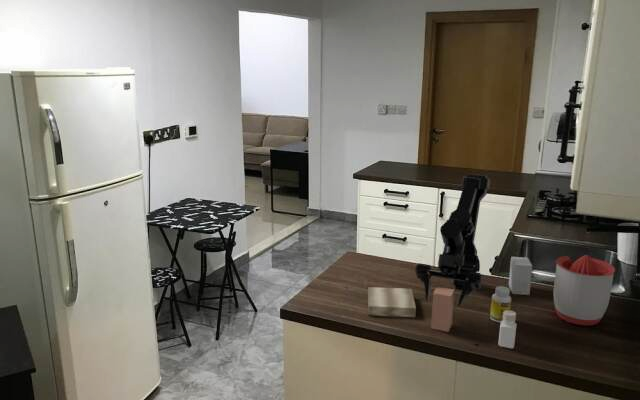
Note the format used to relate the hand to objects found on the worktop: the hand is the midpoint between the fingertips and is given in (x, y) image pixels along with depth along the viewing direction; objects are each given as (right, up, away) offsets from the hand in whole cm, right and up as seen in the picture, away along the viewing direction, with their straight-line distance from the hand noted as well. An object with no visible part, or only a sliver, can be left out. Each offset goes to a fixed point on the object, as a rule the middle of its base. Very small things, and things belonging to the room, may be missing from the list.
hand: (442, 302), depth 148 cm
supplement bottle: (+18, -6, +7) cm, 21 cm away
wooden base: (-13, -4, +15) cm, 20 cm away
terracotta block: (0, -7, +2) cm, 8 cm away
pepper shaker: (+15, -10, -8) cm, 20 cm away
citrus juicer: (+43, -6, +9) cm, 44 cm away
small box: (+32, -1, +27) cm, 42 cm away
